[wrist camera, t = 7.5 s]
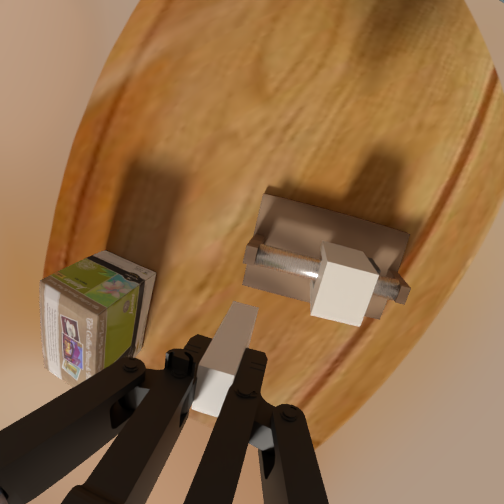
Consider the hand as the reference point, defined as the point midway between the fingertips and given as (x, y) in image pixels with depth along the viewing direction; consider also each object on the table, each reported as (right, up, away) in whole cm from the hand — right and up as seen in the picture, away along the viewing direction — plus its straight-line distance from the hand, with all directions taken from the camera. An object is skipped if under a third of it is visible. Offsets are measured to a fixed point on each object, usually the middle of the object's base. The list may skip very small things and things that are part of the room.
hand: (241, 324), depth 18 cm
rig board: (+10, +3, +21) cm, 23 cm away
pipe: (+9, +2, +17) cm, 19 cm away
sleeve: (+10, +2, +18) cm, 21 cm away
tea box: (-20, -4, +28) cm, 34 cm away
